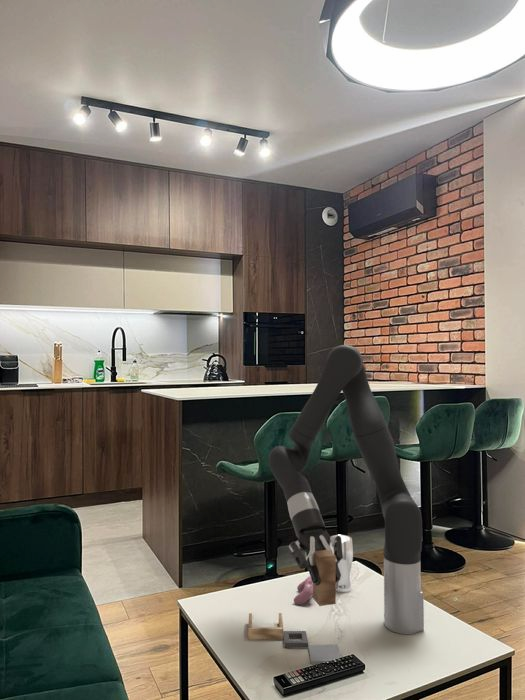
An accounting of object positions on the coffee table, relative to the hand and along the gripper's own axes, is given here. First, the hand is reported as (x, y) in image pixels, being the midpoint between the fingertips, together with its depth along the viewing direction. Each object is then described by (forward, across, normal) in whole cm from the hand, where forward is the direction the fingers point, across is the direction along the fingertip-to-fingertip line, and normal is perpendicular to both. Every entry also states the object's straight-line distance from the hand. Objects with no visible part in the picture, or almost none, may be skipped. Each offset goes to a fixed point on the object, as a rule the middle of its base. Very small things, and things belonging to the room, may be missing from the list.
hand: (328, 582), depth 118 cm
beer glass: (-11, +22, +36) cm, 43 cm away
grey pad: (+11, 0, +14) cm, 18 cm away
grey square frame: (+6, -4, +19) cm, 20 cm away
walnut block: (+2, 0, +5) cm, 5 cm away
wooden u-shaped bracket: (0, -9, +24) cm, 26 cm away
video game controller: (-9, +9, +34) cm, 36 cm away
